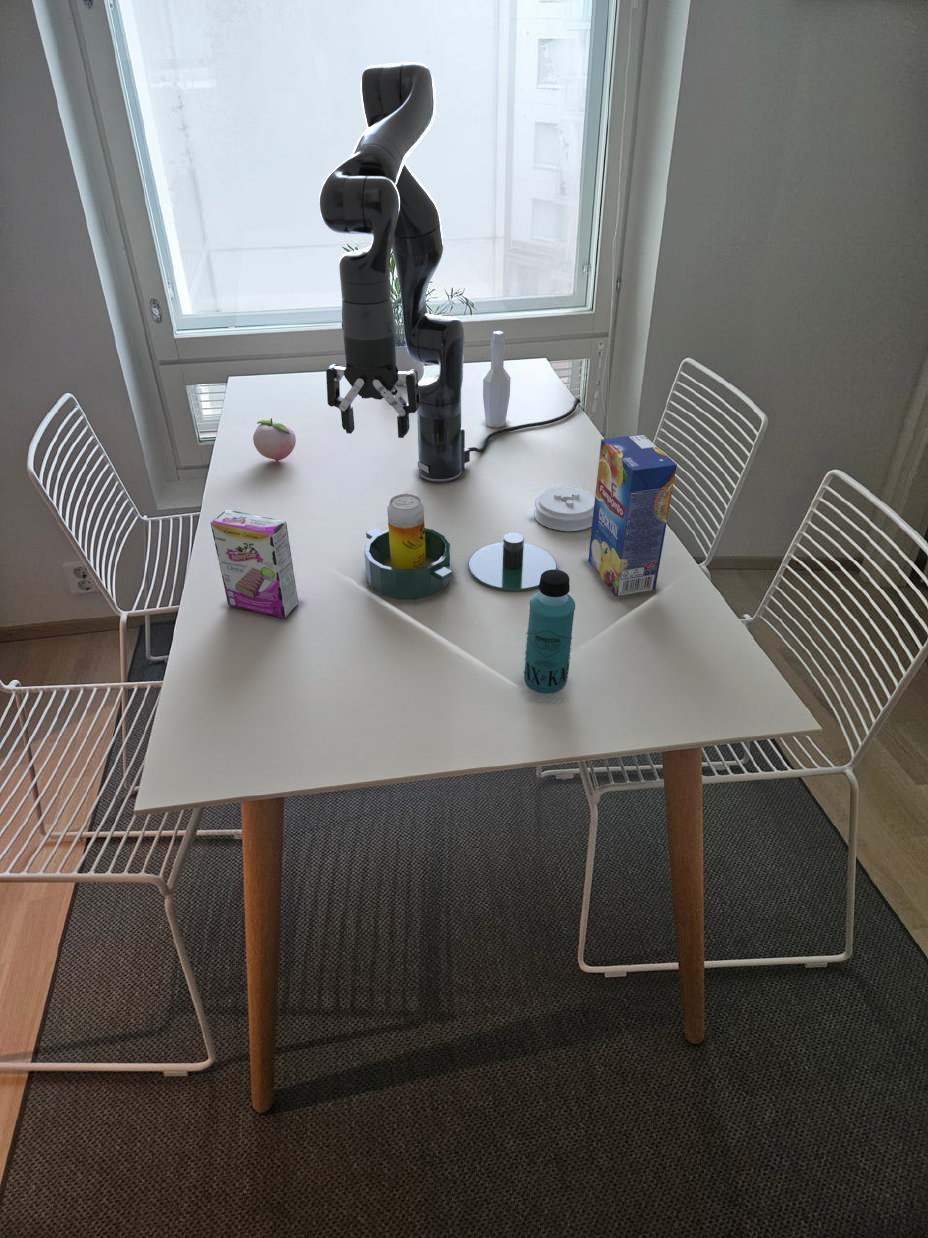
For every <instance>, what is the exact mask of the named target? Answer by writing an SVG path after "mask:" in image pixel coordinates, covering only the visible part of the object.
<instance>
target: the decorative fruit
mask: <svg viewBox="0 0 928 1238" xmlns="http://www.w3.org/2000/svg"><path fill="white" fill-rule="evenodd" d="M256 424H257V425H258V424H259V425H258V426H257V427H256V429H255V430H254V433H253V435H252V442H253V445H254V448H255V449H256V451H257V452H258V454H260V455H261V456H263V457H265V458H267V459H269V460H275V461H277V462H278V461H282V460H284V459H286V458H287V457H289V456H290V455H291V454H292V453H293V451H294V449H295V447H296V443H297V438H296V434H295V432H294V430H293V429H292V428H291V427H290V426H289V425H287V424H285V423H283V422H274V421H273V418H272V417H271V418H270V419H261V420H258V421H257V422H256Z"/></svg>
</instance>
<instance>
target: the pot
mask: <svg viewBox="0 0 928 1238" xmlns="http://www.w3.org/2000/svg"><path fill="white" fill-rule="evenodd" d="M365 538H366V539H368V541H367V542H366V543H365V549H364V563H365V574H366V581H367V584H368V585H369V587H370V589H371V590H373V591H374V592H376V593H377V594H379V595H380V596H382V597H386V598H390V599H394V600H398V601H399V600H401V601H404V600H407V601H408V600H409V601H410V600H411V601H413V600H414V601H415V600H419V599H424V598H429V597H432V596H433V595H436V594H438V593H439V592H441V591H443V590H445V588H446V587H447V585H448V584H449V583H450V581H451V578H453V576H454V572H453V570H451V543H450V541H449V540H448V538H447V537H446V536H445V535H444V534H442V533H440V532H438V531H436V530H434V529H431V528H427V527H425V553H426V559H428V560H431V561H433V562H431V563H429V564H428V565H426V566H424V567H419V568H414V569H397V568H392V567H391V566H387V565H384V564H383V563H385V562H387V561H389V560H391V557H390V541H389V528H388V529H385V530H380V529H379V528H377V527H375V528H373V529H371V530H369V531H366V532H365Z"/></svg>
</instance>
